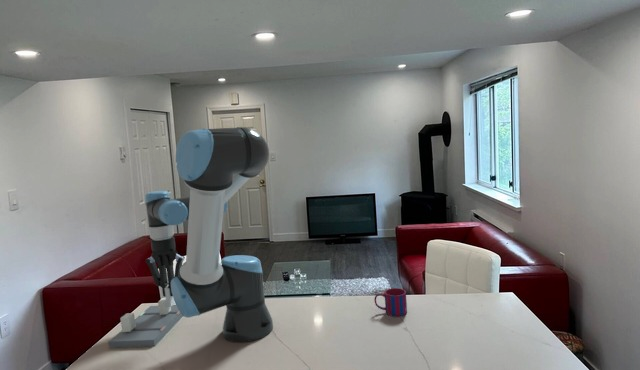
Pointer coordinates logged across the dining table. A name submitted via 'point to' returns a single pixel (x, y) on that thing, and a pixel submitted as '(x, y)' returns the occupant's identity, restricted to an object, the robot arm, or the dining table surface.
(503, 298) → the dining table surface
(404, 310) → the mug
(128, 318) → the block
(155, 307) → the breaker panel
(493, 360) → the dining table surface
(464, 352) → the dining table surface
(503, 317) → the dining table surface
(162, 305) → the block
